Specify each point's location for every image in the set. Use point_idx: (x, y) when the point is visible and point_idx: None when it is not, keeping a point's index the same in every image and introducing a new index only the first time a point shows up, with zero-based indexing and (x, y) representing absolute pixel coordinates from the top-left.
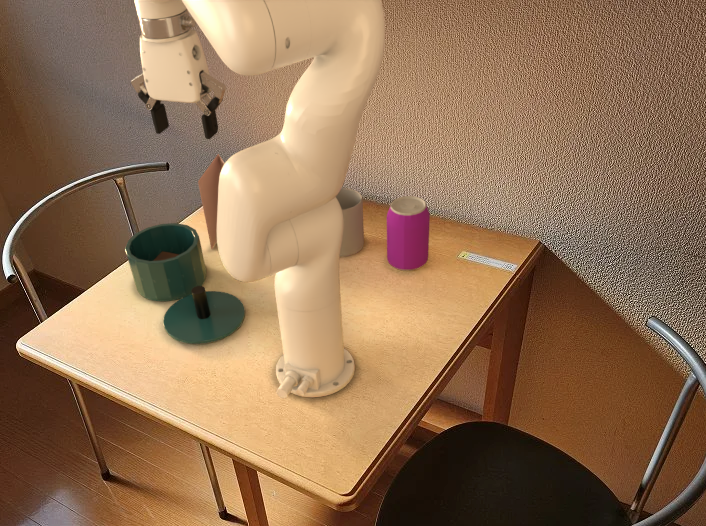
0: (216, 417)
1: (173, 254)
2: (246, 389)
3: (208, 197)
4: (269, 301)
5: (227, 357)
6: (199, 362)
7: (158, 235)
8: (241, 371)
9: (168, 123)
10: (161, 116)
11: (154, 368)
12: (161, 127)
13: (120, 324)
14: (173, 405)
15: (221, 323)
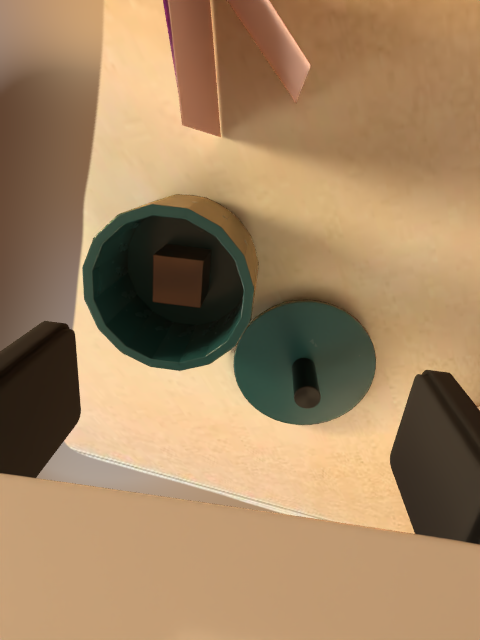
0: (386, 518)
1: (185, 262)
2: None
3: (195, 73)
4: (405, 295)
5: (369, 430)
6: (330, 444)
7: (123, 228)
8: None
9: (63, 333)
10: (27, 429)
11: (269, 461)
12: (67, 412)
13: (168, 390)
14: (324, 509)
15: (342, 382)
